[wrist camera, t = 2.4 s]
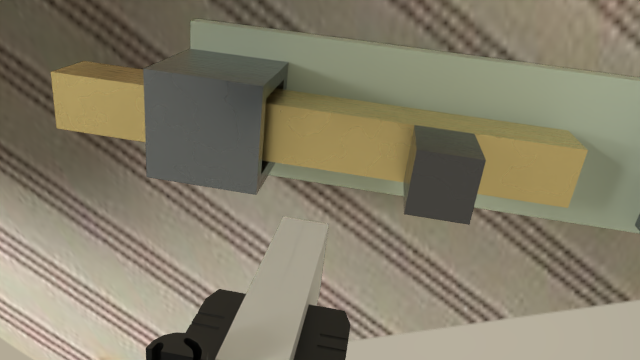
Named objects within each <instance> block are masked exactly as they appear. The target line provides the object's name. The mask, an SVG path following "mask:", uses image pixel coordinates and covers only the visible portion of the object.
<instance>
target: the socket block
mask: <svg viewBox="0 0 640 360" xmlns="http://www.w3.org/2000/svg"><path fill="white" fill-rule="evenodd" d="M635 226H636V227H637V229H638V230H639V231H640V214H639V216H638V219H637V221H636V223H635Z"/></svg>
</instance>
